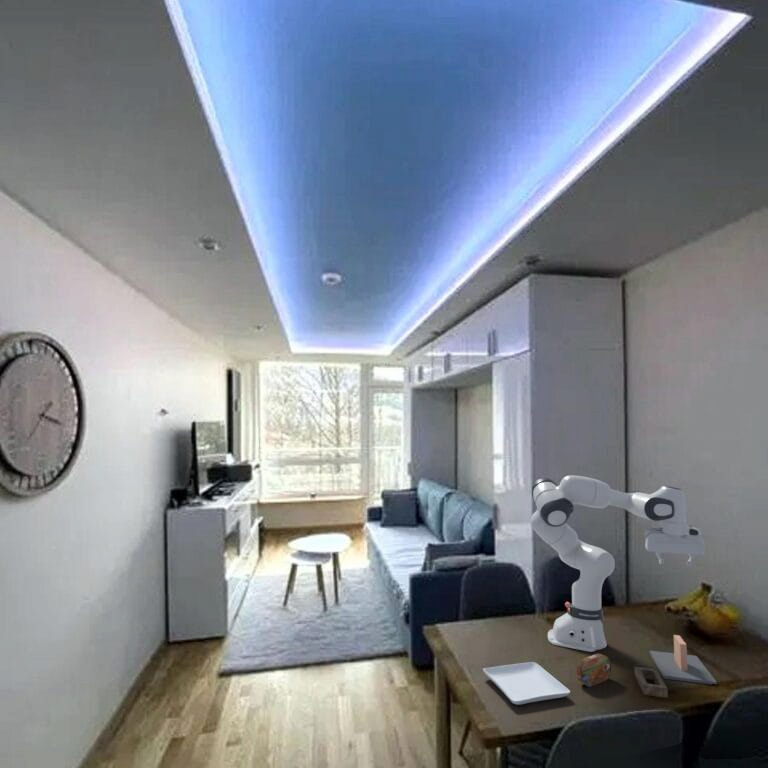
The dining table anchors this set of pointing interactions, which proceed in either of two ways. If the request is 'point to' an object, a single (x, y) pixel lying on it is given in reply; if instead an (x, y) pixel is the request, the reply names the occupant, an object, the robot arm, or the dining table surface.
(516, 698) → the salad plate
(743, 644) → the dining table surface
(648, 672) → the brown flat hollow block
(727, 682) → the dining table surface
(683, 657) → the pink flat slab
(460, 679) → the dining table surface
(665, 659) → the rubber mat
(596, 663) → the tin
